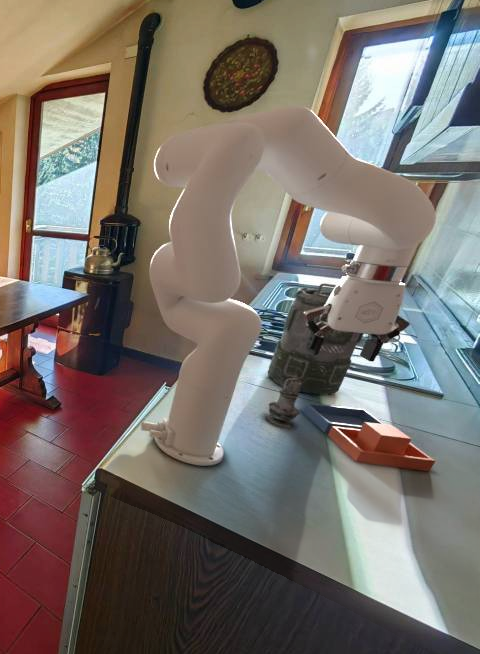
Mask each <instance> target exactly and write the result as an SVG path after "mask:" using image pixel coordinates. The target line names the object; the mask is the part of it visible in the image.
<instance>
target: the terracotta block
mask: <svg viewBox="0 0 480 654" xmlns="http://www.w3.org/2000/svg"><path fill="white" fill-rule="evenodd" d="M411 441H412V438H411V437H410V436H408V435H407V434H405V433H404V432H402V431H401V430H400V429H399V428H397V427H396V426H394V425H392V424H385V423H384V424H378V423H369V422H364V424H363V426H362V428H361V430H360V432H359V434H358V436H357V438H356V440H355V442H356V443H357V444H358V445H359V446H361V447H362V448H363V449H364V450H365V451H373V452H380V453H388V454H396V455H403V454H404V452H405V450H406V448H407V447H408V445H409V443H411Z"/></svg>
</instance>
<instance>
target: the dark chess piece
mask: <svg viewBox="0 0 480 654" xmlns="http://www.w3.org/2000/svg"><path fill="white" fill-rule="evenodd" d="M297 378H298V377H297V376H294V378H290V379H287V380H286V381H285V384H284V387H282V389H280V390H279V397H278V399H277V401H271V402H268V404H267V407H268V413H269V414H267V415H266V416H264V418H265V419H264V420H266V422H268V423H269V424H271V425H273V426H276V427H279V428H283V429H284V428H285V429H289V428H293V427H294V423H293V422H292V421H294V420H295V418H297V416H299V415H300V413H301V411H300V410H299V409H298V408H296V407H295V405H296V402H297V399H299V398H300V395H299V393H300V392H299V390H300V388H301V385H302V383H301V382H300V381H299V380H298V379H297Z"/></svg>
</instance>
